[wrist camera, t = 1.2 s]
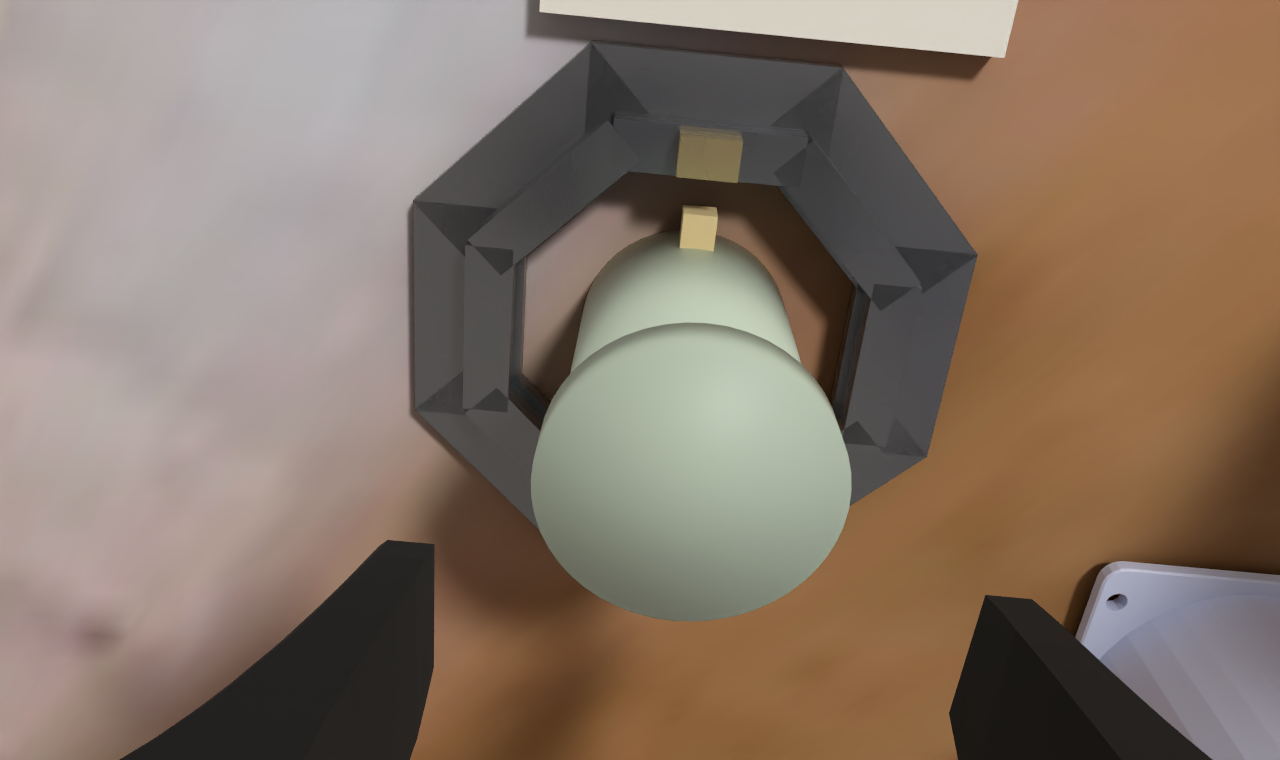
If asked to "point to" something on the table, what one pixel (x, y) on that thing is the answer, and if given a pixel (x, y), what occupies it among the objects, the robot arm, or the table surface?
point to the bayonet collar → (697, 149)
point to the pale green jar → (689, 436)
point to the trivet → (827, 19)
